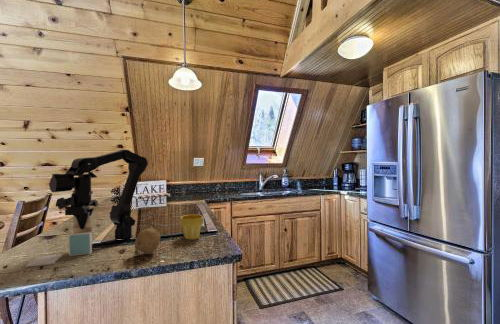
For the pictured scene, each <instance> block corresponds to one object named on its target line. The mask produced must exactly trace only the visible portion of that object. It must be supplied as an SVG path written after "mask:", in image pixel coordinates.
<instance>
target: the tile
mask: <svg viewBox="0 0 500 324" xmlns="http://www.w3.org/2000/svg"><path fill="white" fill-rule="evenodd" d="M92 236H93V231H92V232H84V233H73V232H72V233H70V234H69V235H68V248H69V249H68V250H69V252H68V253H69V257H71V256H81V255H88V254H89V255H90V254H92V252H93V243H92V242H93V241H92V239H93V237H92Z"/></svg>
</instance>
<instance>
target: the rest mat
mask: <svg viewBox="0 0 500 324" xmlns="http://www.w3.org/2000/svg"><path fill="white" fill-rule="evenodd" d="M63 255H64V254H63V253H62V254H52V255H43V256H42V255H40V256H36V257H35V258H34V259H32V260H31V261H30V262H28V263H27V264H25V267H26V268H27V267H36V266H45V265H54V264H56V262H58V260H60V259H61V258H62V257H63Z"/></svg>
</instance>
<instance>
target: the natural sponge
mask: <svg viewBox="0 0 500 324" xmlns="http://www.w3.org/2000/svg"><path fill="white" fill-rule="evenodd" d="M138 233H139V234H138V235H137V237H136V239H135V241H134V248H135V249H136V250H138V251H140V252H143V253H144V254H146V255H148V256H149V255H152V254H153V253H155V252H156V250H157V249H158V246H159V245H160V241H161V235H160V232H159V231H158V230H156V229H155V228H145V229H143V230H141V231H140V232H138Z"/></svg>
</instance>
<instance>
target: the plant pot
mask: <svg viewBox="0 0 500 324" xmlns="http://www.w3.org/2000/svg"><path fill="white" fill-rule="evenodd" d="M203 224H204V216H203V214H202V215H201V214H187V215H186V214H185V215H182V216H181V217H180V225H181V227H182V230H183V231H182V232H183V237H184V239H186V240H197V239H199V238H200V233H201V229H202V225H203Z"/></svg>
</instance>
